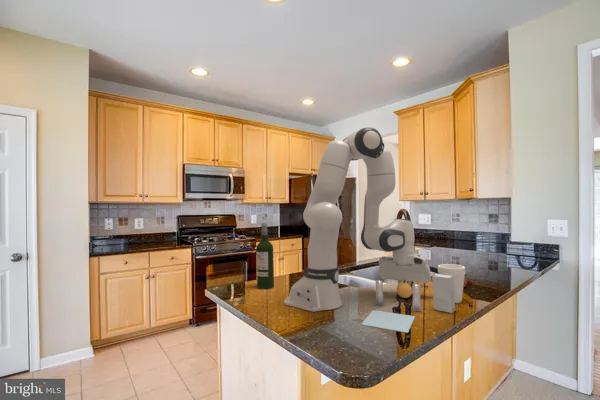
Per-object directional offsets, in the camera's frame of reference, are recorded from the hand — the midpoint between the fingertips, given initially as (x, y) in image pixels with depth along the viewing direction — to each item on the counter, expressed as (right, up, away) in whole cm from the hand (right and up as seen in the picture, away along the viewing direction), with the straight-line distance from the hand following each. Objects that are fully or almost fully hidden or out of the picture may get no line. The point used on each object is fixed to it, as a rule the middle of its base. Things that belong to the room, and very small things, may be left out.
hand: (404, 291), depth 124 cm
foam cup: (+15, -1, -8) cm, 18 cm away
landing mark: (-15, -1, -27) cm, 31 cm away
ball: (-1, +2, -4) cm, 4 cm away
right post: (-2, -1, -18) cm, 18 cm away
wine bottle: (-59, -4, +18) cm, 62 cm away
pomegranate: (+26, -1, +9) cm, 27 cm away
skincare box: (+7, -1, -19) cm, 20 cm away
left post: (-13, -2, -12) cm, 18 cm away
